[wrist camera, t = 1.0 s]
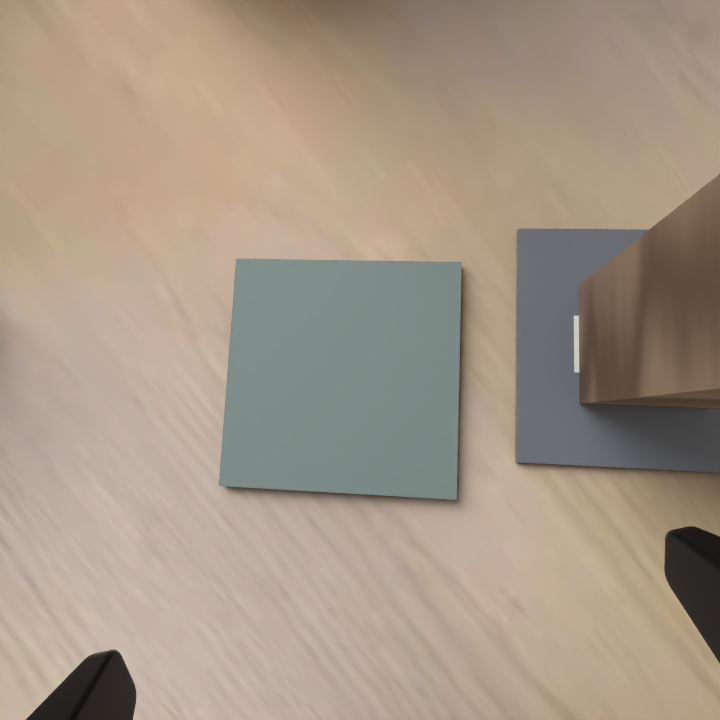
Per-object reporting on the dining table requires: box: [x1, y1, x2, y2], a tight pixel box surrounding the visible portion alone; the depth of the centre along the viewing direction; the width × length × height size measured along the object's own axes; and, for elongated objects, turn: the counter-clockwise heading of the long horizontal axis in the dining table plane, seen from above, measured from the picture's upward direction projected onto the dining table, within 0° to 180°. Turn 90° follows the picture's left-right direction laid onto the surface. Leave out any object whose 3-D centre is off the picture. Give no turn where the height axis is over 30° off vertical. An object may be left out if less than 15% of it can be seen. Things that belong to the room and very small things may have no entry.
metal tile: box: [515, 229, 720, 473], centre depth 21 cm, size 10×10×1 cm
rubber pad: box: [219, 259, 462, 500], centre depth 22 cm, size 10×10×1 cm
